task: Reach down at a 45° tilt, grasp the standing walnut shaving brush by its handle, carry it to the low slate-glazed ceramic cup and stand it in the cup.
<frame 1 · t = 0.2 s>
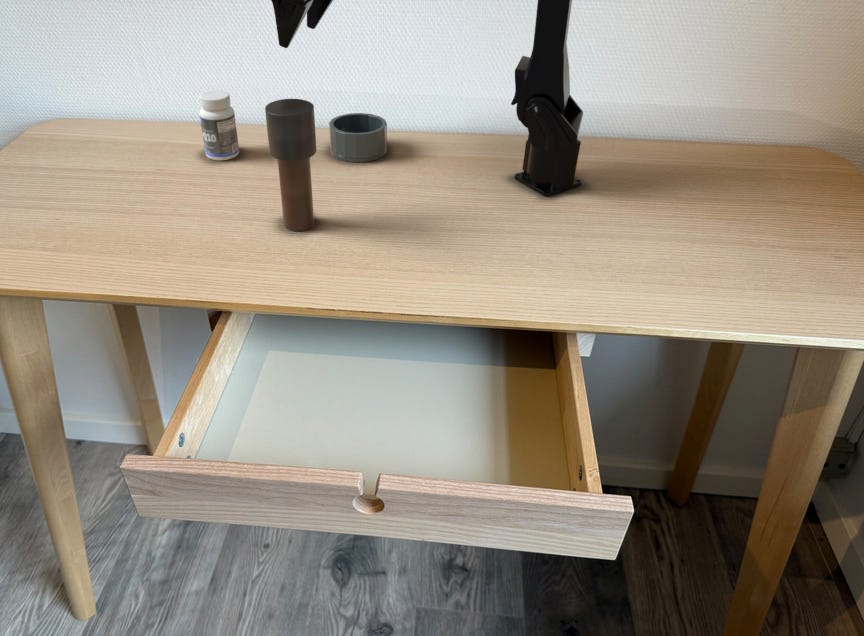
hand: (297, 37, 92), 15 cm above the table, tool pointing down, fingers open, 9 cm apart
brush: (299, 224, 85), on the table
pill bottle: (223, 155, 101), on the table
cup: (358, 150, 102), on the table
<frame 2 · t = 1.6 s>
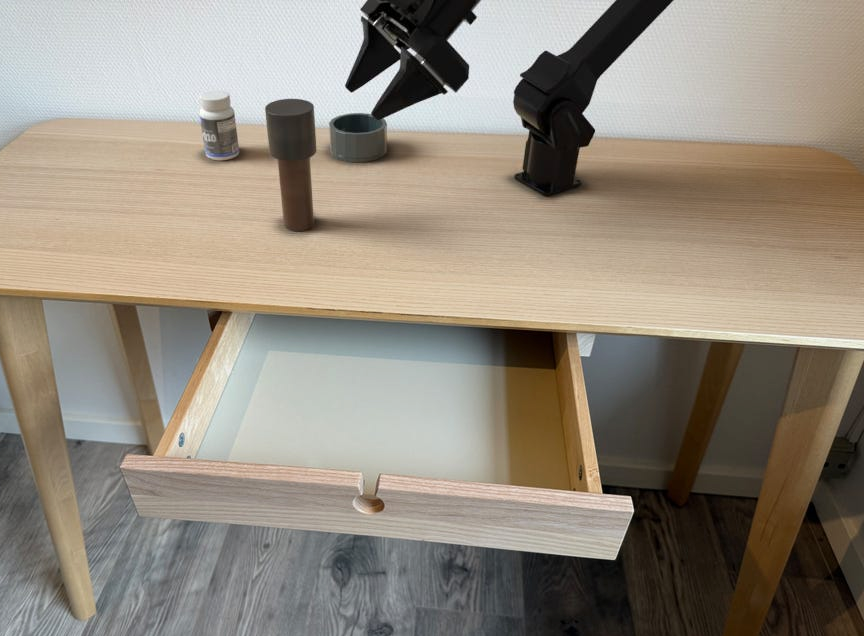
hand: (360, 103, 79), 13 cm above the table, tool tilted 45°, fingers open, 9 cm apart
nothing on the table moved.
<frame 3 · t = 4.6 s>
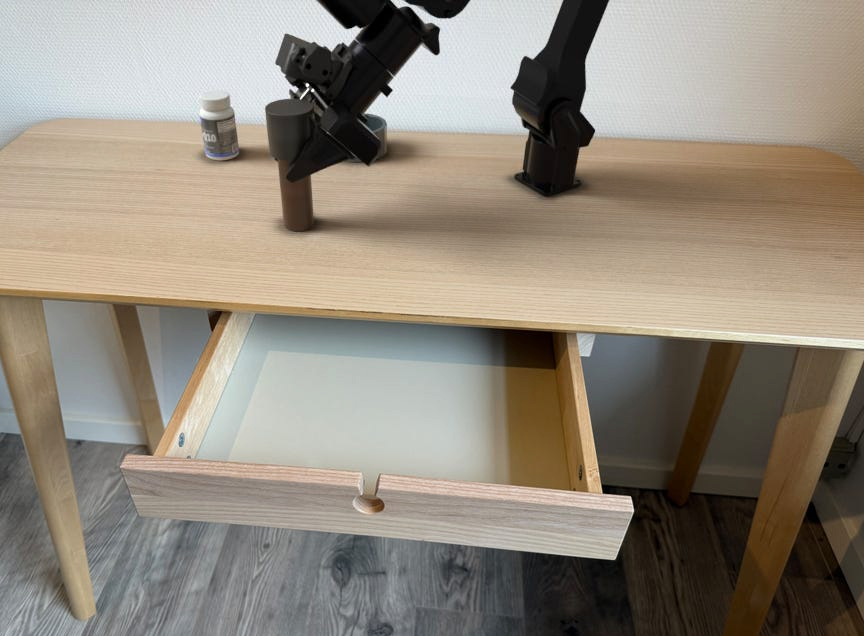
hand: (282, 170, 80), 7 cm above the table, tool tilted 45°, fingers closed on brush, 5 cm apart
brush: (299, 224, 85), on the table, touching gripper
everything else where it was.
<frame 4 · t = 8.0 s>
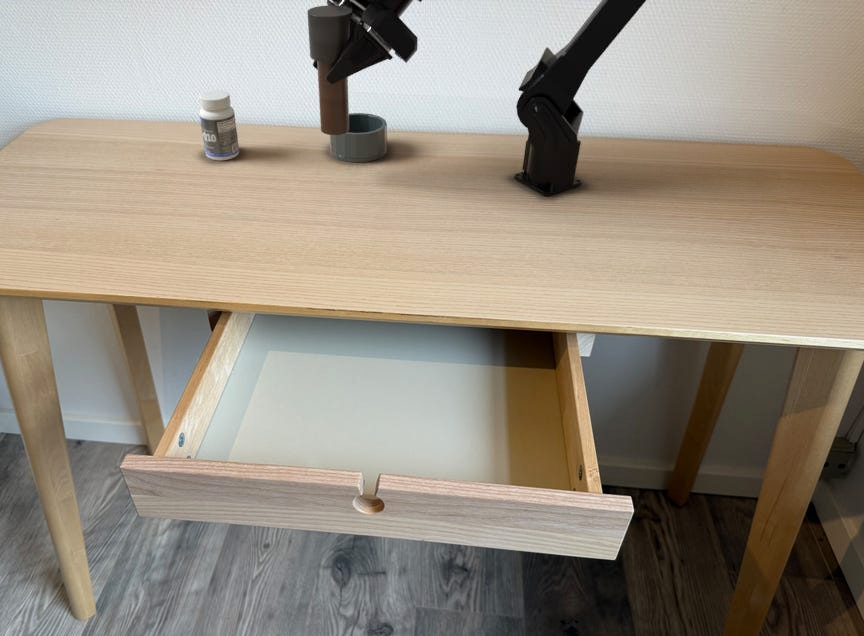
hand: (321, 74, 86), 14 cm above the table, tool tilted 45°, fingers closed on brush, 5 cm apart
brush: (335, 129, 91), point 7 cm above the table, touching gripper
everything else where it was.
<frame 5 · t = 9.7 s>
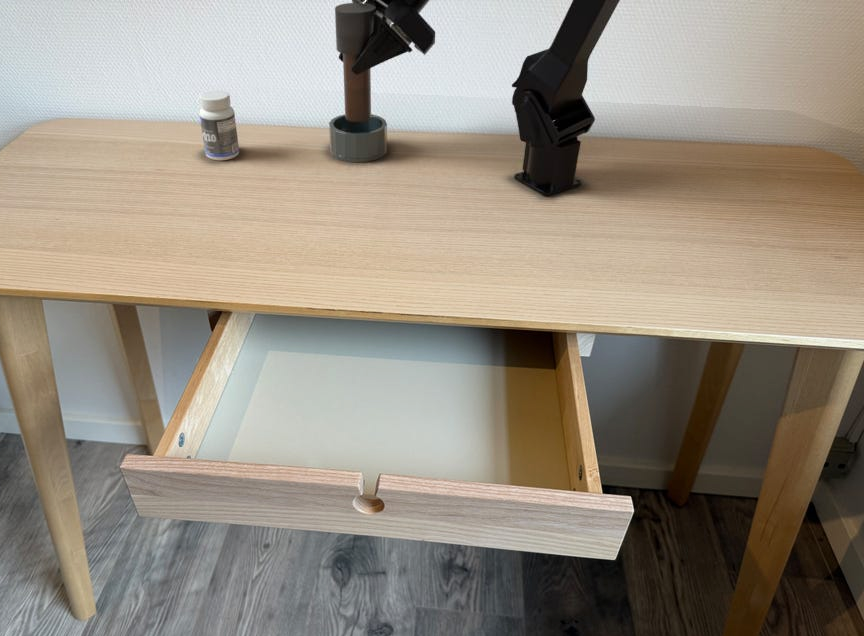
hand: (347, 66, 94), 12 cm above the table, tool tilted 45°, fingers closed on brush, 5 cm apart
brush: (358, 117, 99), point 5 cm above the table, touching gripper
everything else where it was.
when the fingers open (8 cm above the table, at t = 11.3 s): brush stays where it is, resting on cup.
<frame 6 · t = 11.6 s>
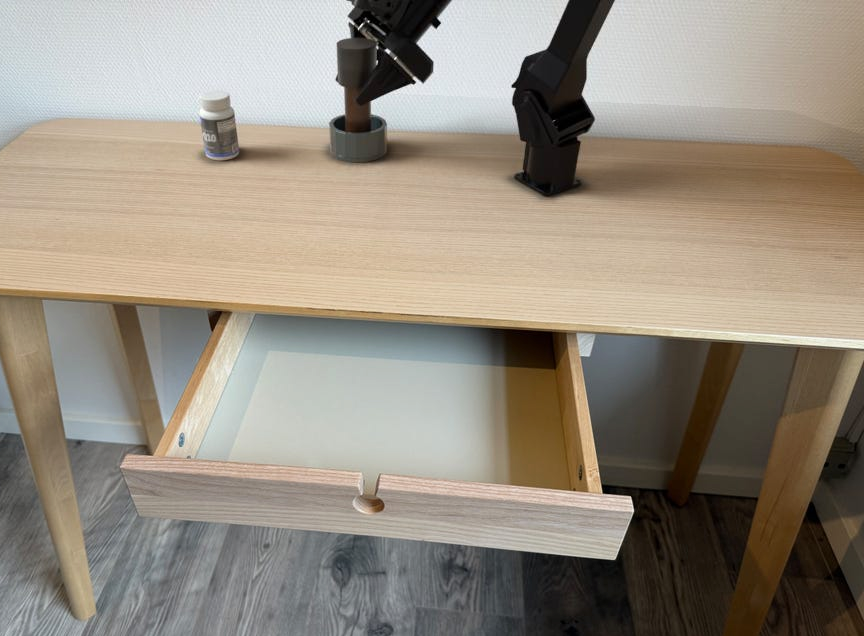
hand: (347, 92, 96), 8 cm above the table, tool tilted 45°, fingers open, 8 cm apart
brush: (358, 146, 101), point 1 cm above the table, touching cup
everything else where it was.
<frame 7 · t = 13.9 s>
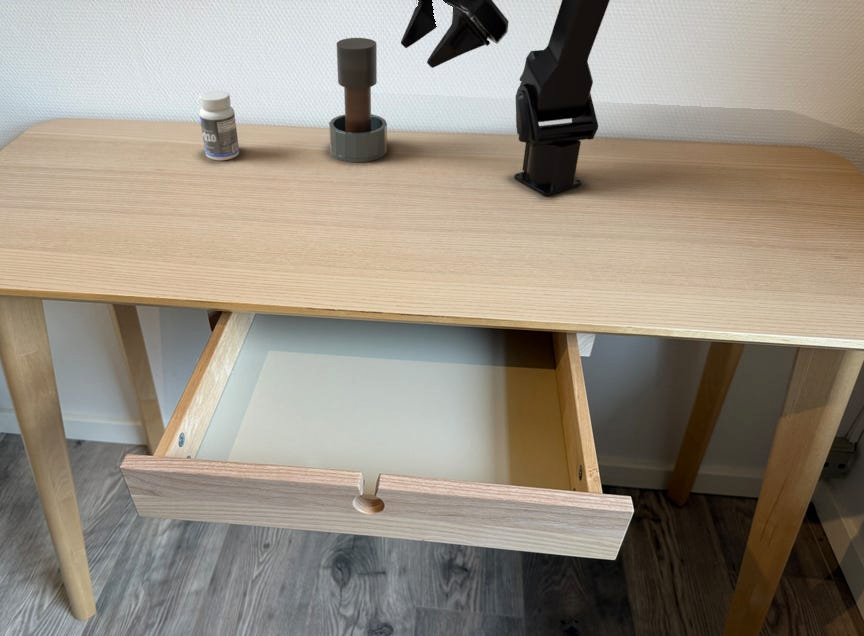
hand: (415, 55, 96), 12 cm above the table, tool tilted 45°, fingers open, 9 cm apart
nothing on the table moved.
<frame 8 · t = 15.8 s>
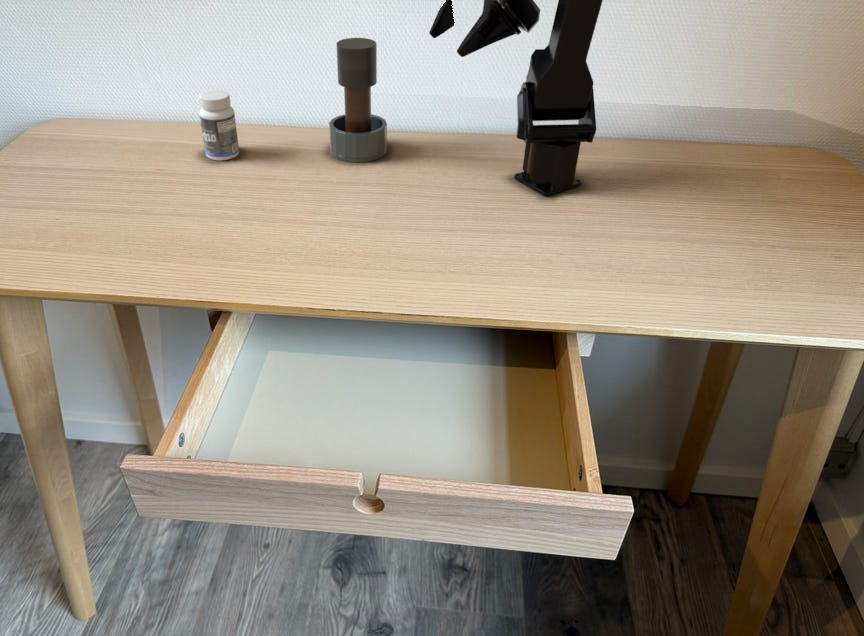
hand: (444, 44, 96), 14 cm above the table, tool tilted 45°, fingers open, 9 cm apart
nothing on the table moved.
at the end: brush 0.1 cm off-centre in the cup, point 0.6 cm above the cup's base; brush tilted 0°; the gripper is holding nothing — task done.
